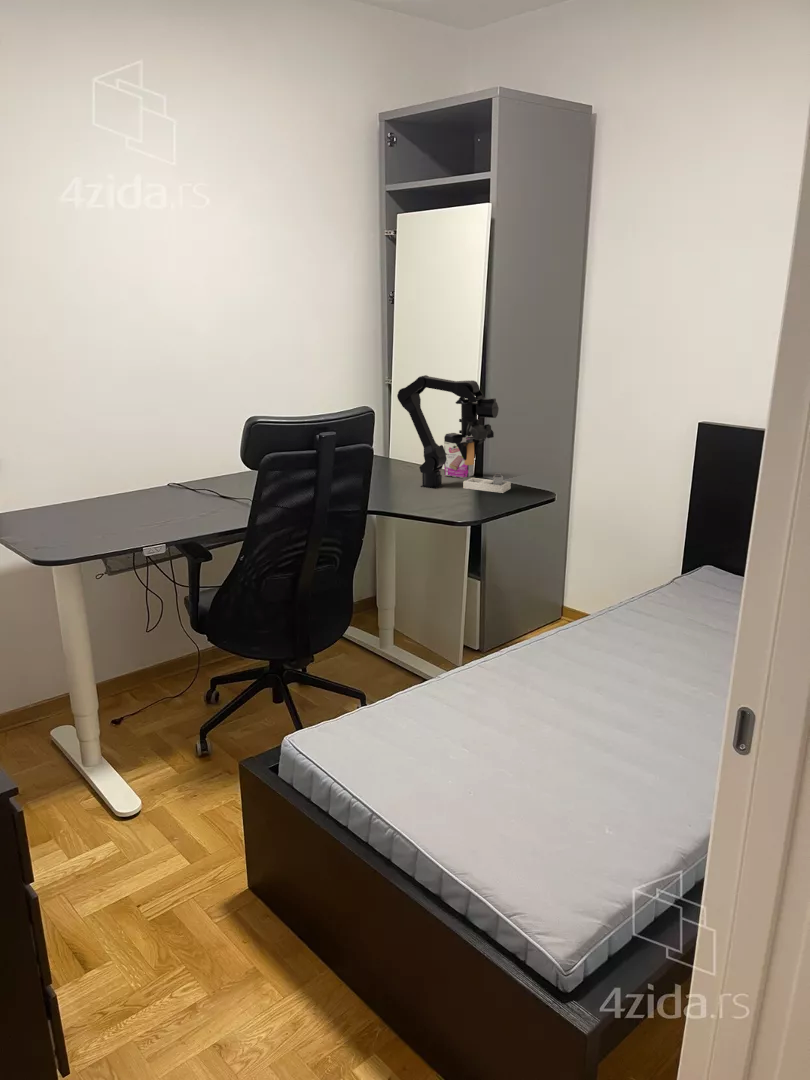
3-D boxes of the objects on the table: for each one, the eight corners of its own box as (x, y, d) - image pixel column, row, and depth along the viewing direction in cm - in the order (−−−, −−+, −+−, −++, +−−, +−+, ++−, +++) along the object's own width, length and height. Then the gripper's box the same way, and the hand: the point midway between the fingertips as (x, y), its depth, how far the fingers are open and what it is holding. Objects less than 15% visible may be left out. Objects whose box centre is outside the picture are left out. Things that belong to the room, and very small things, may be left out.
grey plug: (491, 490, 288) (491, 474, 287) (495, 488, 291) (495, 472, 290) (500, 491, 287) (500, 475, 285) (504, 489, 290) (504, 473, 288)
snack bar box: (443, 476, 315) (443, 436, 310) (449, 474, 319) (449, 434, 314) (468, 479, 309) (468, 438, 304) (474, 477, 313) (474, 436, 308)
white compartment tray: (463, 490, 293) (463, 481, 292) (471, 486, 298) (471, 477, 297) (502, 495, 285) (502, 486, 284) (510, 491, 290) (510, 482, 289)
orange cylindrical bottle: (468, 465, 286) (468, 440, 283) (462, 463, 289) (462, 439, 286) (476, 464, 288) (476, 439, 285) (470, 462, 291) (470, 438, 288)
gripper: (462, 422, 272) (462, 466, 277) (503, 416, 282) (503, 459, 286) (443, 418, 281) (443, 461, 286) (484, 412, 291) (484, 454, 295)
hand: (469, 459), depth 288 cm, fingers closed on orange cylindrical bottle, 4 cm apart
